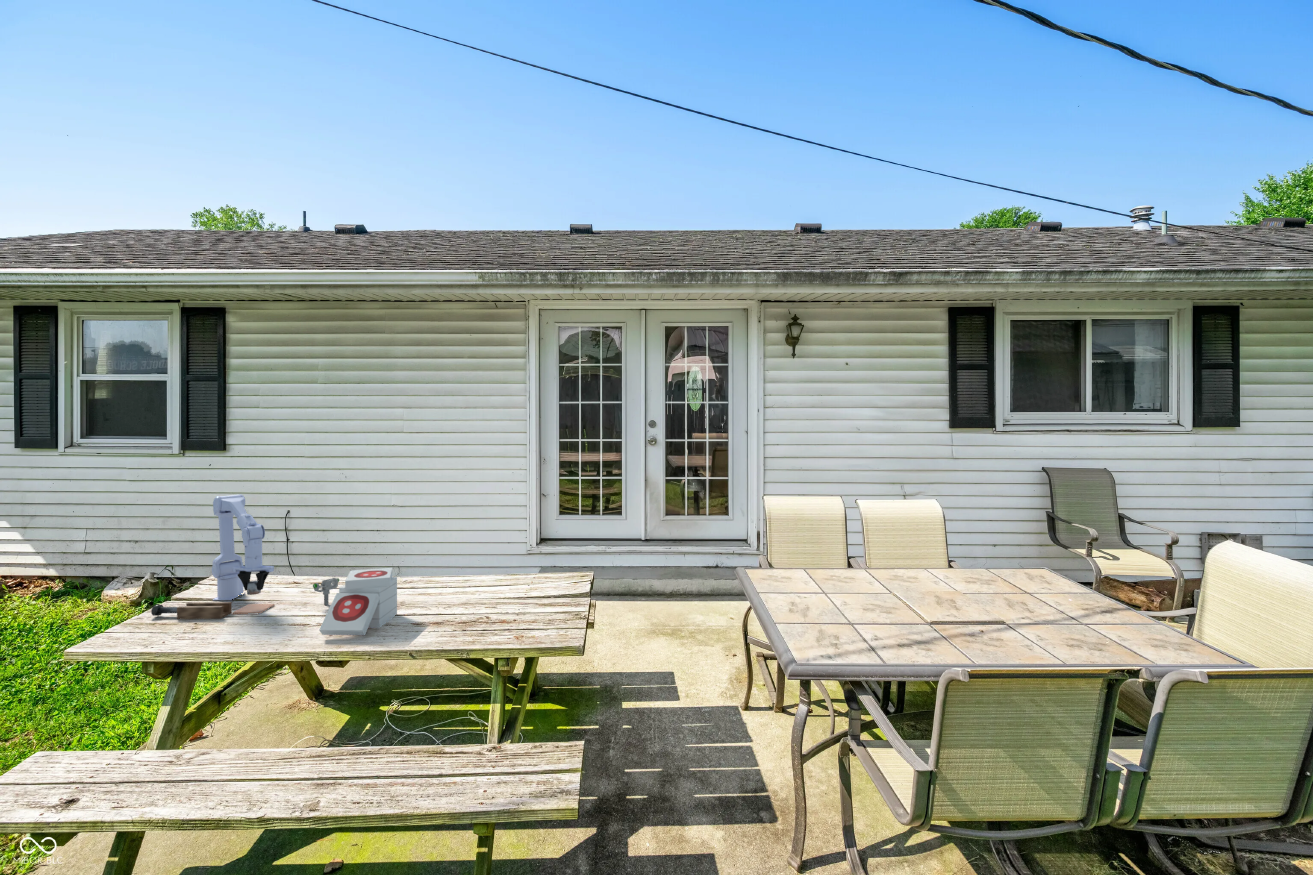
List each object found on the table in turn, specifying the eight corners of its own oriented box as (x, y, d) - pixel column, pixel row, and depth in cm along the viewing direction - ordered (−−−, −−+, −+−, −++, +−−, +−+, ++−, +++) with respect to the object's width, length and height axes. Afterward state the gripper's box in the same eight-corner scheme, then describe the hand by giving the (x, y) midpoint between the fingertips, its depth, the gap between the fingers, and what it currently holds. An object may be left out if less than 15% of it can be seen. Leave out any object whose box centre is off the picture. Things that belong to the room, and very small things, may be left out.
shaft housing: (177, 619, 221) (176, 607, 221) (188, 613, 227) (188, 602, 227) (221, 618, 222) (221, 606, 222) (231, 613, 228) (231, 602, 228)
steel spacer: (251, 591, 234) (251, 580, 234) (263, 591, 235) (263, 580, 235) (244, 594, 230) (244, 583, 230) (256, 594, 230) (256, 583, 230)
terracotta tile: (248, 605, 237) (248, 603, 237) (274, 605, 238) (274, 603, 238) (232, 614, 227) (232, 612, 227) (259, 613, 228) (259, 611, 228)
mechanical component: (311, 607, 236) (311, 583, 236) (335, 600, 245) (335, 577, 245) (316, 608, 235) (316, 584, 235) (340, 601, 244) (340, 578, 244)
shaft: (151, 617, 221) (151, 606, 221) (159, 613, 225) (159, 603, 225) (205, 616, 223) (205, 606, 222) (212, 613, 227) (212, 602, 226)
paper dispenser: (313, 640, 202) (313, 589, 201) (357, 611, 232) (357, 567, 231) (369, 641, 202) (369, 590, 202) (405, 612, 232) (405, 567, 232)
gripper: (227, 558, 227) (228, 592, 228) (266, 558, 228) (266, 592, 229) (239, 554, 234) (239, 587, 235) (277, 553, 235) (277, 587, 236)
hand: (253, 589), depth 232 cm, fingers closed on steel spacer, 4 cm apart
